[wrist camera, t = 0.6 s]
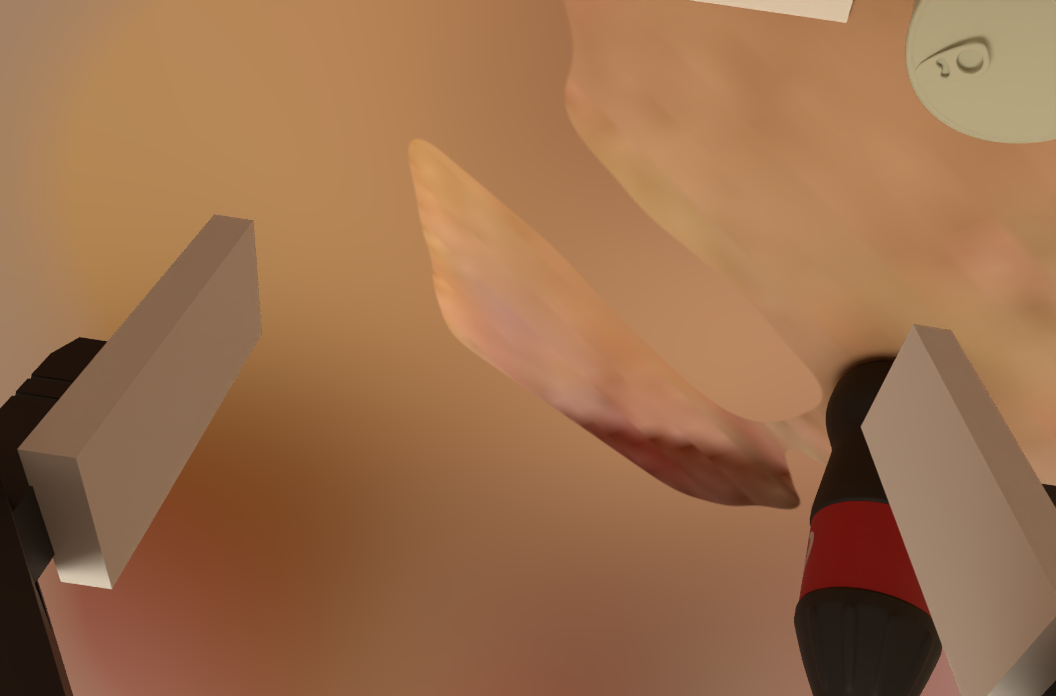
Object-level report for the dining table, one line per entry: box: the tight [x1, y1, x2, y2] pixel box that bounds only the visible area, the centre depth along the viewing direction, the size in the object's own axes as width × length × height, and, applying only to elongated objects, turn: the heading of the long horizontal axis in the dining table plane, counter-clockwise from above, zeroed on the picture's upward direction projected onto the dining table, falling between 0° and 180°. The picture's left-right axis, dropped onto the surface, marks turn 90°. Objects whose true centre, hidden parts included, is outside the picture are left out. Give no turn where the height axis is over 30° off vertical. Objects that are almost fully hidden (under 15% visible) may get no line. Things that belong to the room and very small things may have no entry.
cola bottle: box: [794, 361, 942, 696], centre depth 53 cm, size 8×8×30 cm
